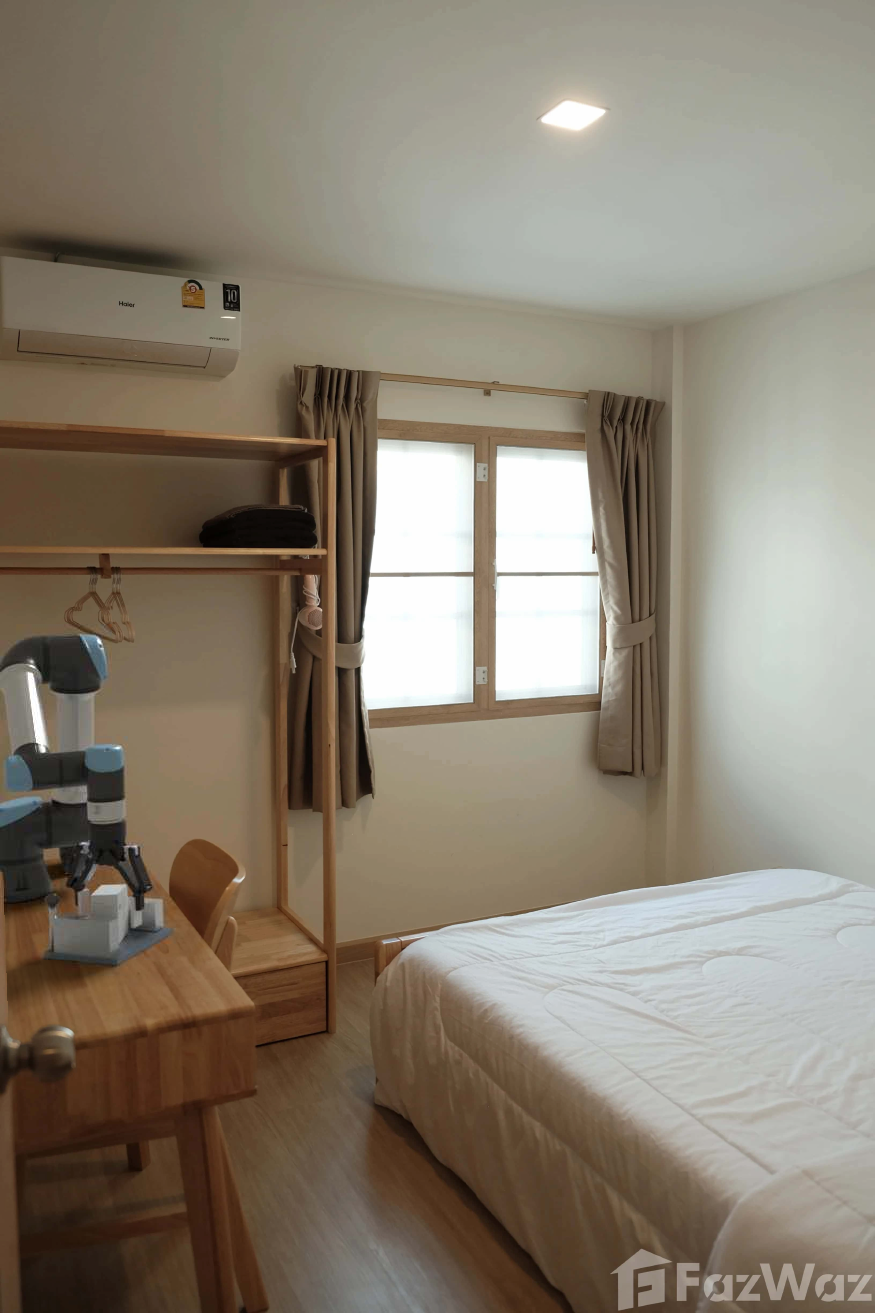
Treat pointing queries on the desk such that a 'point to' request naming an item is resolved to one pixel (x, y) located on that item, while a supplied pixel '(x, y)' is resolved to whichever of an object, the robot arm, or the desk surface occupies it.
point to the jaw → (149, 915)
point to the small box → (112, 905)
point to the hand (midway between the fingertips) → (110, 923)
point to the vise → (94, 937)
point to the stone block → (70, 857)
